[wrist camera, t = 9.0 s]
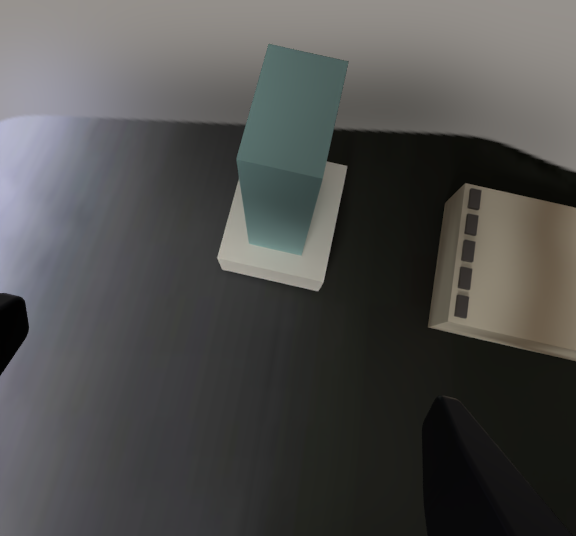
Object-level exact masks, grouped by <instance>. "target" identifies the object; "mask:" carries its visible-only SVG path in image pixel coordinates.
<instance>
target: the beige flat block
mask: <svg viewBox="0 0 576 536" xmlns="http://www.w3.org/2000/svg"><path fill="white" fill-rule="evenodd" d="M428 328H433V329H437V330H441V331H446V332H450V333H455V334H459V335H463V336H468V337H472V338H477V339H481V340H485V341H490V342H494V343H499V344H503V345H507V346H512V347H516V348H521V349H525V350H529V351H534V352H538V353H543V354H547V355H551V356H556V357H560V358H565V359H569V360H573V361H576V208H574V207H570V206H565V205H561V204H556V203H552V202H548V201H543V200H539V199H534V198H530V197H525V196H521V195H516V194H512V193H507V192H503V191H498V190H494V189H489V188H485V187H480V186H476V185H471V184H467V183H465V184H464V185H463V186H462V187H461V188H460V189H459V190H458V191H457V192H456V193H455V194H454V195H453V196H452V197H451V198H450V199H449V200H448V201H447V202H446V203H445V207H444V214H443V222H442V229H441V236H440V243H439V250H438V258H437V265H436V272H435V279H434V286H433V294H432V301H431V308H430V315H429V322H428Z"/></svg>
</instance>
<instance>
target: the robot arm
mask: <svg viewBox="0 0 576 536" xmlns="http://www.w3.org/2000/svg"><path fill="white" fill-rule="evenodd" d="M28 331H29V324H28V317H27V311H26V304H25V301H24V299H23V298H21V297H20V296H16V295H11V294H7V293H0V375H1V374H2V372H3V371H4V369H5V368H6V367H7V365H8V364H9V362H10V361H11V359H12V358H13V356H14V355H15V353H16V352H17V350H18V349H19V347H20V346H21V344H22V343H23V341H24V340H25V338H26V336H27V334H28ZM422 454H423V497H424V509H425V518H426V526H427V534H428V536H573V535H572V534H571V533H570V532H569V531H568V529H567V528H566V527H565V526H564V525H563V523H562V522H561V521H560V520H559V519H558V517H557V516H556V515H555V514H554V513H553V512H552V510H551V509H550V508H549V507H548V506H547V504H546V503H545V502H544V501H543V500H542V498H541V497H540V496H539V495H538V494H537V492H536V491H535V490H534V489H533V488H532V486H531V485H530V484H529V483H528V482H527V480H526V479H525V478H524V477H523V476H522V474H521V473H520V472H519V471H518V470H517V468H516V467H515V466H514V465H513V464H512V463H511V461H510V460H509V459H508V458H507V457H506V455H505V454H504V453H503V452H502V451H501V449H500V448H499V447H498V446H497V445H496V443H495V442H494V441H493V440H492V439H491V437H490V436H489V435H488V434H487V433H486V431H485V430H484V429H483V428H482V427H481V425H480V424H479V423H478V422H477V421H476V419H475V418H474V417H473V416H472V415H471V413H470V412H469V411H468V410H467V409H466V408H465V406H464V405H463V404H462V403H461V402H460V401H459V400H458V399H455V398H451V397H447V396H442V395H441V396H438V397H437V398H436V399H435V401H434V402H433V404H432V406H431V408H430V410H429V412H428V414H427V416H426V418H425V420H424V422H423V427H422Z"/></svg>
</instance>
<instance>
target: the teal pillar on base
mask: <svg viewBox="0 0 576 536" xmlns="http://www.w3.org/2000/svg"><path fill="white" fill-rule="evenodd" d="M347 67H348V61H344V60H340V59H335V58H330V57H326V56H321V55H317V54H312V53H308V52H303V51H299V50H294V49H290V48H285V47H281V46H276V45H272V44H269V45H268V48H267V52H266V55H265V59H264V62H263V66H262V69H261V73H260V76H259V80H258V84H257V88H256V91H255V94H254V98H253V101H252V105H251V109H250V112H249V116H248V119H247V123H246V126H245V130H244V134H243V137H242V141H241V144H240V148H239V151H238V155H237V159H236V161H237V168H238V174H239V181H238V184H237V188H236V192H235V195H234V199H233V203H232V206H231V210H230V213H229V217H228V221H227V224H226V228H225V232H224V235H223V239H222V243H221V246H220V250H219V253H218V257H217V259H218V261H219V263H220V265H221V268H222V270H226V271H231V272H235V273H240V274H244V275H248V276H253V277H257V278H262V279H266V280H271V281H275V282H279V283H284V284H288V285H293V286H297V287H301V288H306V289H310V290H315V291H319V289H320V287H321V286H322V284H323V282H324V278H325V273H326V268H327V263H328V258H329V253H330V249H331V244H332V239H333V234H334V229H335V224H336V220H337V215H338V210H339V205H340V200H341V195H342V190H343V186H344V181H345V176H346V171H347V166H345V165H340V164H336V163H331V162H327V157H328V153H329V148H330V144H331V139H332V135H333V130H334V126H335V121H336V116H337V112H338V107H339V103H340V98H341V94H342V89H343V85H344V80H345V76H346V71H347Z"/></svg>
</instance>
